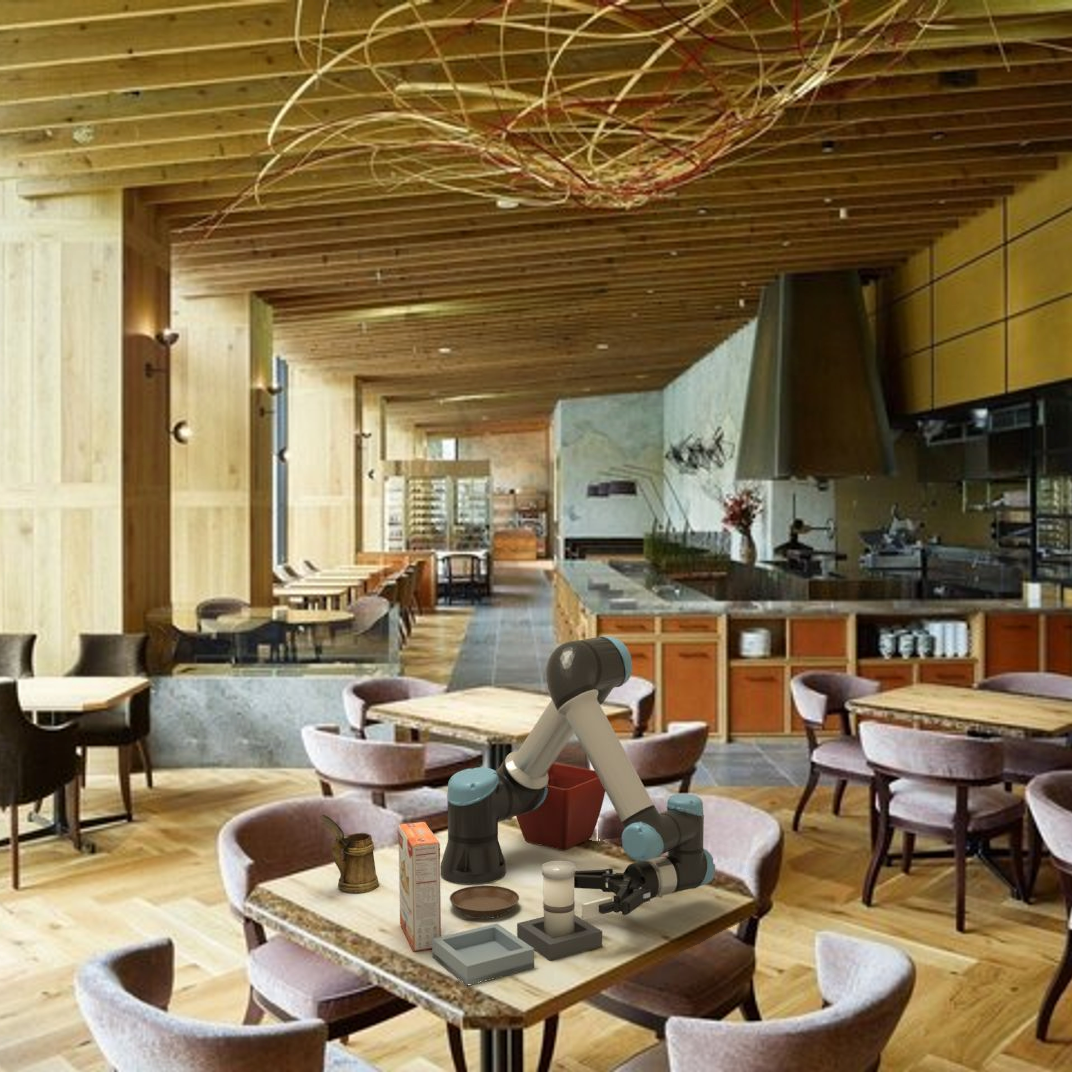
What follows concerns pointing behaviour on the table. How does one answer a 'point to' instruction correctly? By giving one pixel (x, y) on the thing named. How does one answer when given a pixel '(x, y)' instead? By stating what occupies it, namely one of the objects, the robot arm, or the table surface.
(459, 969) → the tray
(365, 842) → the wooden mug
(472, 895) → the saucer
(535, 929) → the dark grey square frame
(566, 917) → the cylinder
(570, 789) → the plant pot
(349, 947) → the table surface
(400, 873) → the cracker box
